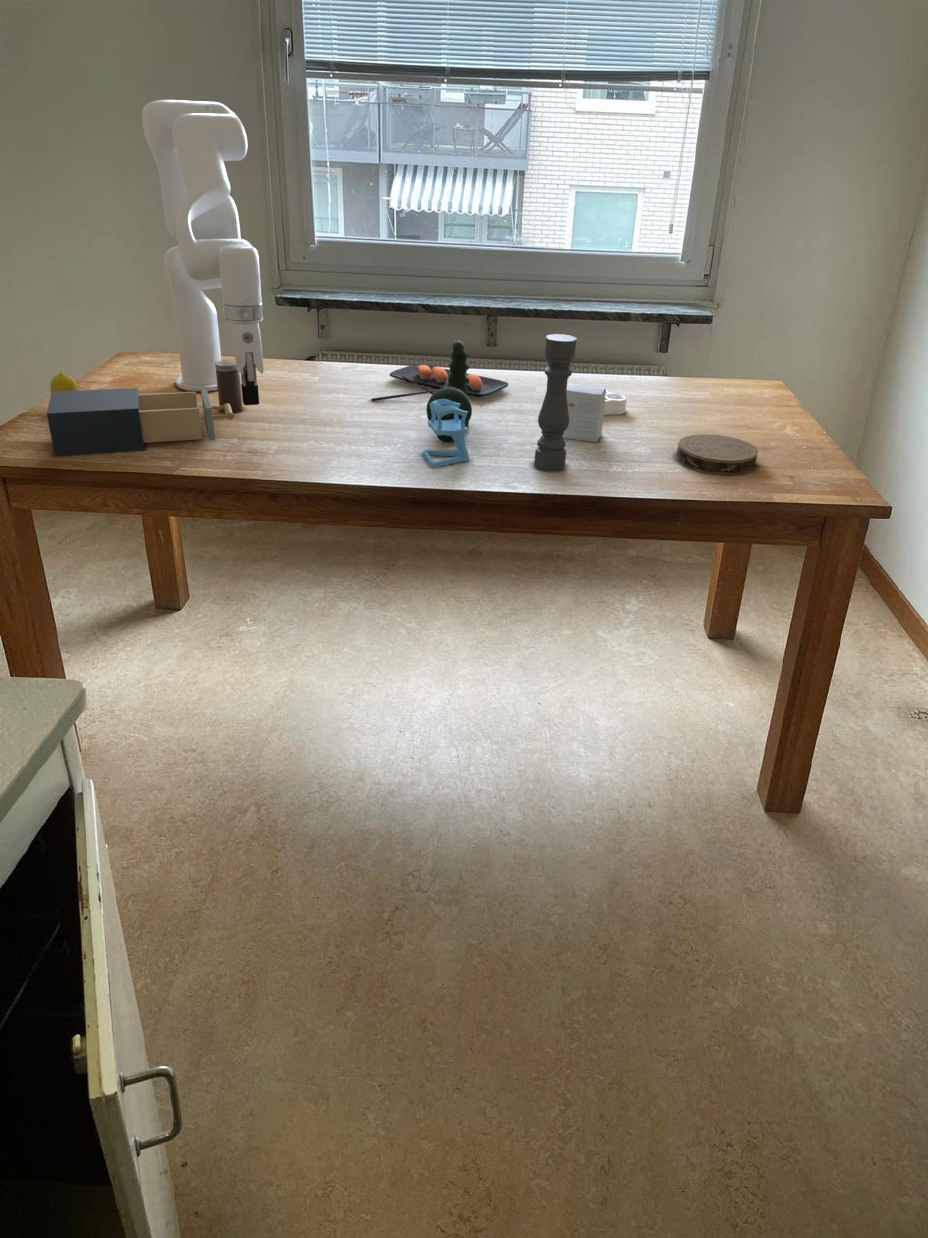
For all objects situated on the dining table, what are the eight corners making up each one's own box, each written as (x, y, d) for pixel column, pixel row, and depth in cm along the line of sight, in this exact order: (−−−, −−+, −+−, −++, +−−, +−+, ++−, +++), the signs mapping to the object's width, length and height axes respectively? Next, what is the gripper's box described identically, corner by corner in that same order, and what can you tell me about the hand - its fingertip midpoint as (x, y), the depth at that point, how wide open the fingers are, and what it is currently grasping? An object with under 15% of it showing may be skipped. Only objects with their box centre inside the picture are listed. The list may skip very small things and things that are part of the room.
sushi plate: (512, 390, 223) (513, 375, 221) (446, 419, 201) (447, 402, 199) (417, 369, 236) (417, 355, 234) (345, 395, 214) (345, 379, 212)
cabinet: (143, 427, 188) (137, 387, 184) (144, 450, 177) (138, 408, 172) (59, 432, 184) (51, 391, 179) (54, 455, 172) (46, 413, 168)
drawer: (230, 419, 192) (227, 388, 189) (236, 438, 182) (233, 406, 178) (134, 424, 187) (129, 392, 184) (134, 445, 176) (129, 412, 173)
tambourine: (707, 478, 175) (710, 464, 174) (661, 452, 188) (663, 438, 186) (771, 469, 181) (774, 455, 179) (722, 444, 193) (725, 431, 192)
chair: (472, 464, 177) (475, 405, 171) (431, 467, 174) (433, 407, 168) (461, 451, 183) (463, 393, 177) (422, 454, 181) (423, 395, 175)
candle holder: (531, 460, 180) (542, 333, 168) (562, 460, 181) (574, 334, 168) (536, 471, 175) (547, 341, 162) (567, 471, 175) (581, 341, 163)
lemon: (85, 406, 199) (79, 370, 195) (73, 413, 194) (67, 376, 190) (61, 404, 199) (54, 368, 195) (49, 411, 195) (42, 375, 190)
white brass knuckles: (618, 400, 219) (629, 418, 207) (545, 397, 218) (551, 416, 206) (619, 386, 218) (631, 404, 205) (546, 384, 217) (553, 402, 204)
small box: (601, 435, 195) (607, 387, 190) (596, 443, 191) (602, 394, 186) (566, 430, 198) (570, 382, 192) (560, 437, 193) (564, 389, 188)
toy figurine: (436, 421, 204) (420, 448, 182) (439, 335, 196) (423, 352, 174) (477, 424, 204) (466, 452, 181) (482, 338, 196) (471, 356, 173)
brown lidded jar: (235, 405, 204) (230, 358, 198) (246, 410, 201) (242, 363, 195) (215, 409, 201) (210, 362, 195) (227, 414, 198) (222, 367, 192)
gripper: (267, 319, 171) (274, 413, 180) (258, 304, 184) (264, 393, 193) (227, 320, 169) (236, 415, 178) (220, 305, 181) (229, 394, 191)
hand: (251, 403), depth 186 cm, fingers closed
